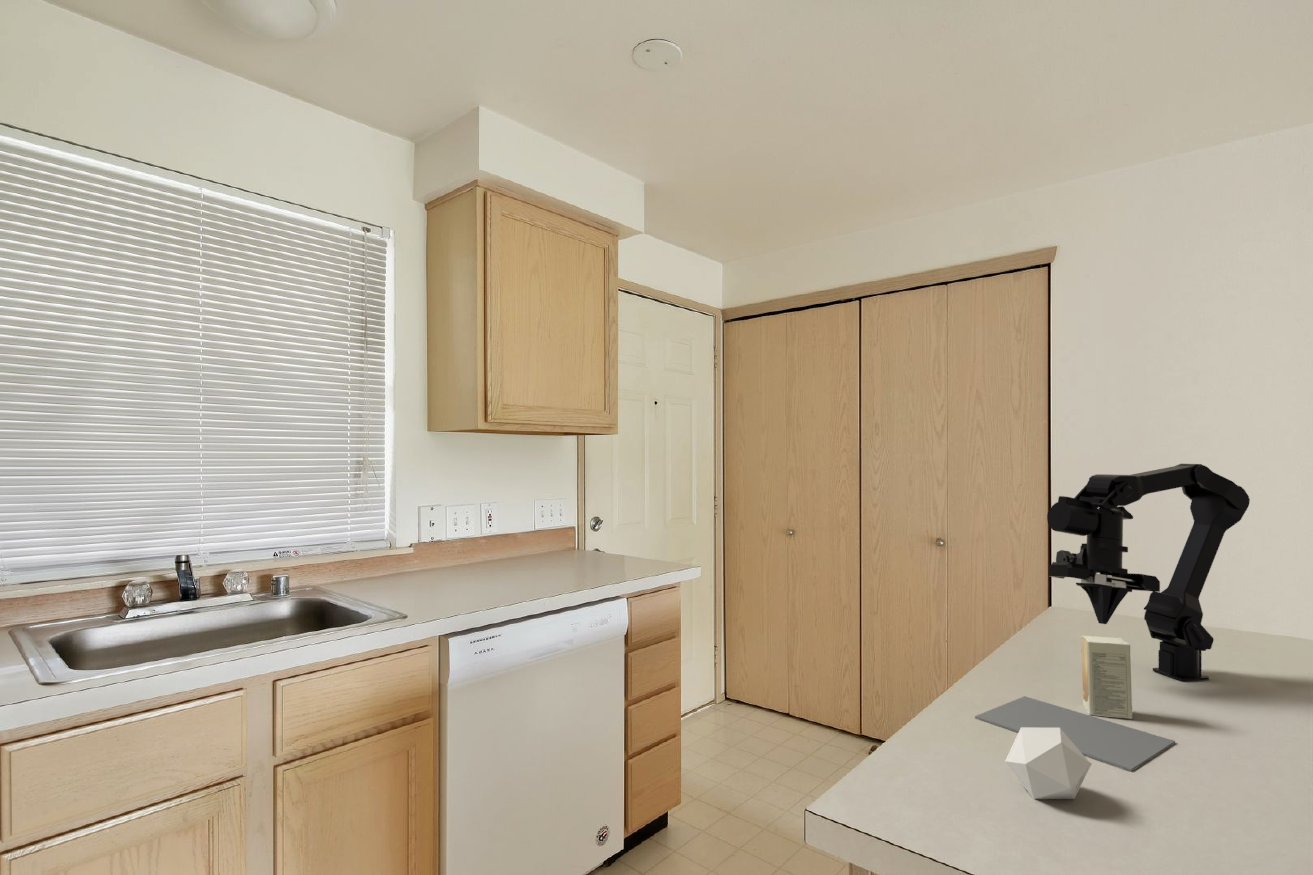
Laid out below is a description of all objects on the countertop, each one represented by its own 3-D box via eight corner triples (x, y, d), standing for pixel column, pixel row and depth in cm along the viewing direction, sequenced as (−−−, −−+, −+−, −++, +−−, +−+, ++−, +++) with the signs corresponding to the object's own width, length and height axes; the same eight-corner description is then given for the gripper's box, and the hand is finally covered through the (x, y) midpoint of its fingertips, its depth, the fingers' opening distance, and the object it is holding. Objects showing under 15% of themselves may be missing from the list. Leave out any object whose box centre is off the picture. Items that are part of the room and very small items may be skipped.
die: (1087, 824, 80) (1112, 748, 83) (1017, 781, 81) (1045, 708, 85) (1048, 814, 87) (1073, 745, 91) (985, 775, 89) (1012, 708, 92)
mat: (1024, 697, 119) (1024, 696, 119) (1175, 742, 101) (1175, 740, 101) (975, 717, 110) (975, 715, 110) (1131, 771, 92) (1131, 769, 92)
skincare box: (1124, 710, 114) (1124, 637, 114) (1133, 720, 110) (1133, 644, 110) (1080, 705, 116) (1080, 633, 116) (1087, 715, 112) (1087, 640, 112)
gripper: (1115, 547, 138) (1114, 626, 135) (1030, 533, 136) (1027, 613, 133) (1162, 547, 127) (1162, 632, 124) (1071, 531, 125) (1068, 618, 122)
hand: (1102, 623), depth 126 cm, fingers closed
